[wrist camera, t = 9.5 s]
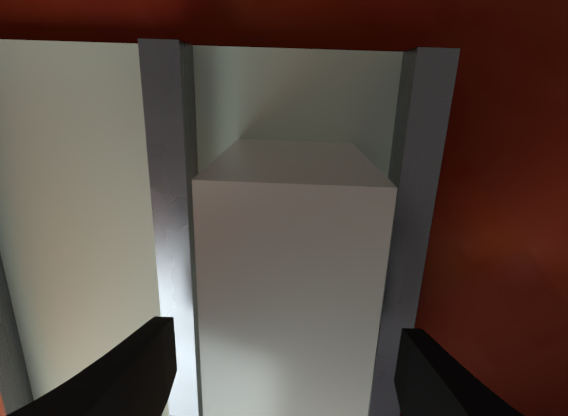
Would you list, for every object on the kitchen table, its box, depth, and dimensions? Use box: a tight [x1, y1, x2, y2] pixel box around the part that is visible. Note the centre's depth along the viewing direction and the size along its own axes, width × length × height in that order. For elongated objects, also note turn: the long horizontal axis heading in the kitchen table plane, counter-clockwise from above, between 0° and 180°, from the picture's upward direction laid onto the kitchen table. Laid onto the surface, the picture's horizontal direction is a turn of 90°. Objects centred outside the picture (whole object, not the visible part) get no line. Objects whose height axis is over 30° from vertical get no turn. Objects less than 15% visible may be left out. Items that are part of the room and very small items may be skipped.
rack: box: [0, 38, 461, 416], centre depth 15 cm, size 18×17×2 cm
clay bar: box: [192, 139, 397, 416], centre depth 12 cm, size 12×4×6 cm, turn 178°
